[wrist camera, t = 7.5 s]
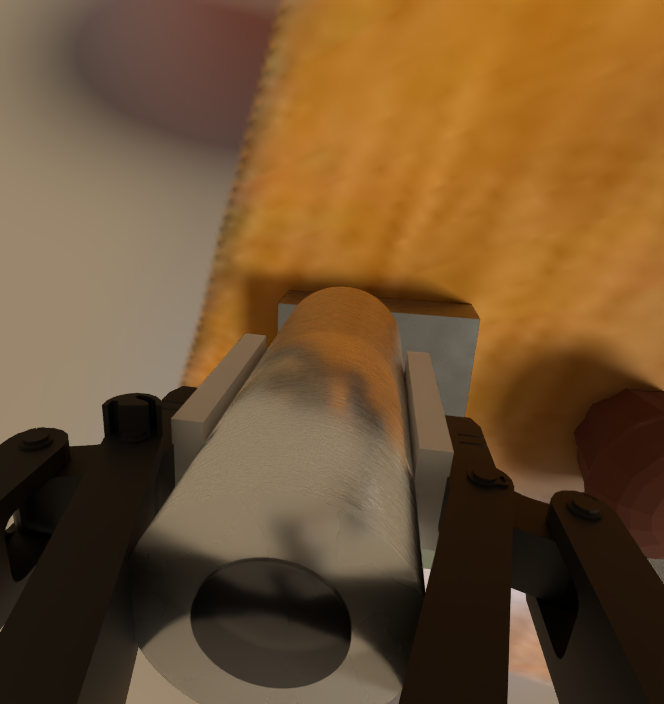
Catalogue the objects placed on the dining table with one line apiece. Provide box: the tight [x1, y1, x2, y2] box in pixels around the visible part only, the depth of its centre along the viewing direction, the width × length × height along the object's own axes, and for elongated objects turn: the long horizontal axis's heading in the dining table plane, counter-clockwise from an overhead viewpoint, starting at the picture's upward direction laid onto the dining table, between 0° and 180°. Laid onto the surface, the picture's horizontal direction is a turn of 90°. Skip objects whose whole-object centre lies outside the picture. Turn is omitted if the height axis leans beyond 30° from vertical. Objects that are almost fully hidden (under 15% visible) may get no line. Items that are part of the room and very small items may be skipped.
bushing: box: [129, 287, 425, 704], centre depth 15 cm, size 5×5×14 cm
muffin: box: [574, 388, 664, 559], centre depth 35 cm, size 12×11×10 cm
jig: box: [278, 291, 480, 569], centre depth 39 cm, size 20×14×6 cm
